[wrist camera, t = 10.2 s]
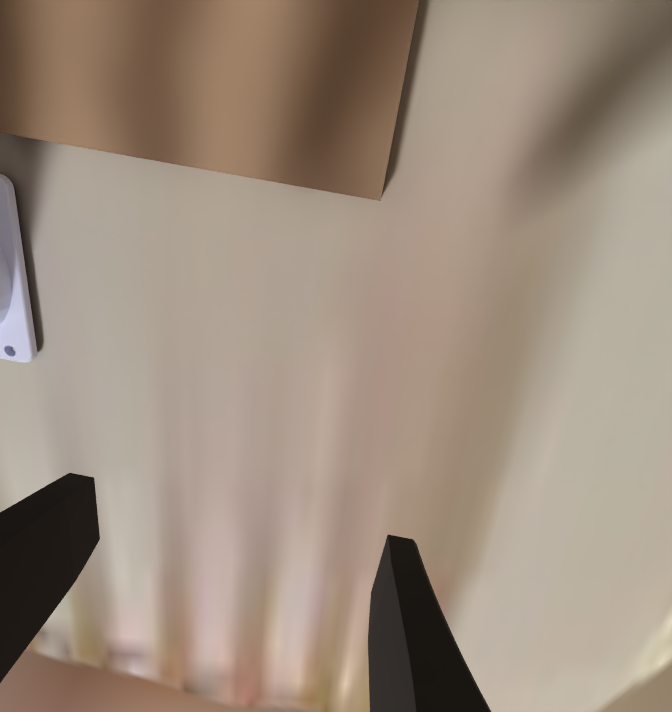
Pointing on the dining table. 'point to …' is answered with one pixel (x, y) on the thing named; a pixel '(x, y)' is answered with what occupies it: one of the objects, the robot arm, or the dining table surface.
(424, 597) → the robot arm
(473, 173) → the dining table surface
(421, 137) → the dining table surface
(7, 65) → the dock
